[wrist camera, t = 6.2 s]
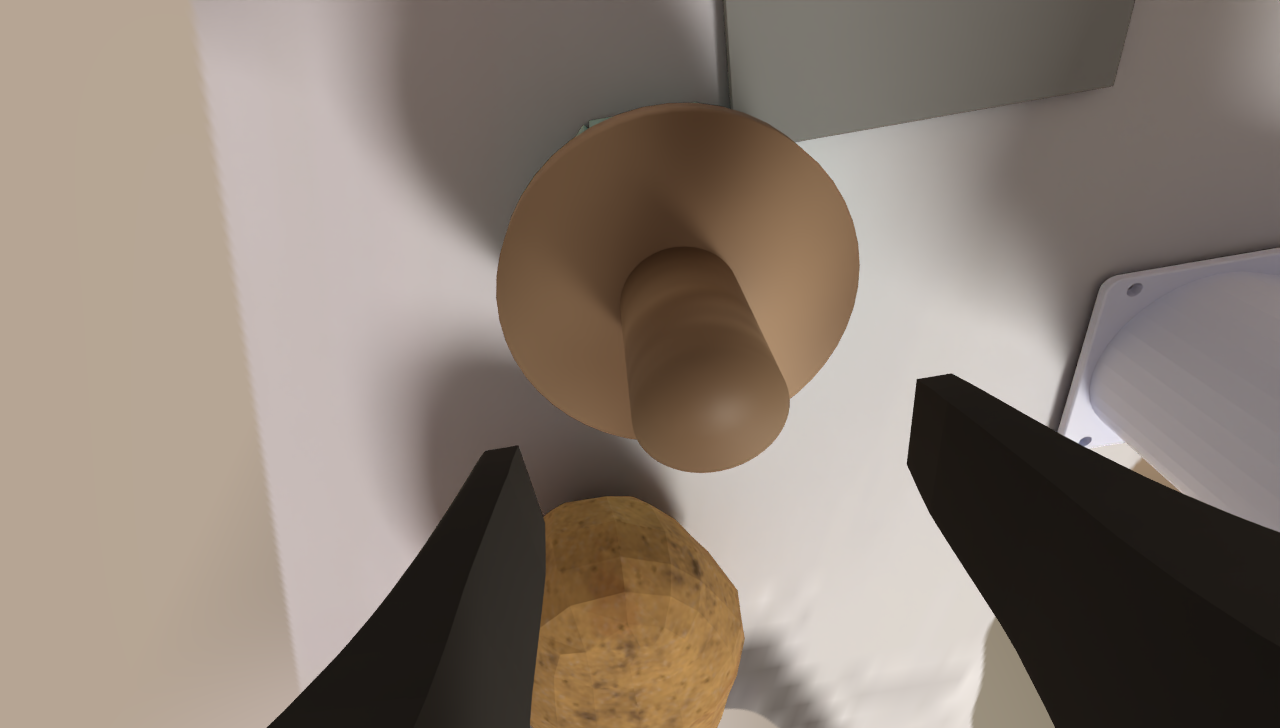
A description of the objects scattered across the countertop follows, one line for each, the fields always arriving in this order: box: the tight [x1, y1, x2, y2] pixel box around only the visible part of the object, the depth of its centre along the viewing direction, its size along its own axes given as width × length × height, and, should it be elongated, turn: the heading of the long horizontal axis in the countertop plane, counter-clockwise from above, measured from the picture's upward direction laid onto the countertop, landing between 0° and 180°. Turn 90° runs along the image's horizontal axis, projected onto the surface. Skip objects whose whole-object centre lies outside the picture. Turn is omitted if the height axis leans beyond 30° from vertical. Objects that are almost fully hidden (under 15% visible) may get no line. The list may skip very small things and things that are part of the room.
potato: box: [530, 496, 745, 728], centre depth 24 cm, size 10×14×8 cm
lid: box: [496, 103, 860, 473], centre depth 14 cm, size 9×9×6 cm
